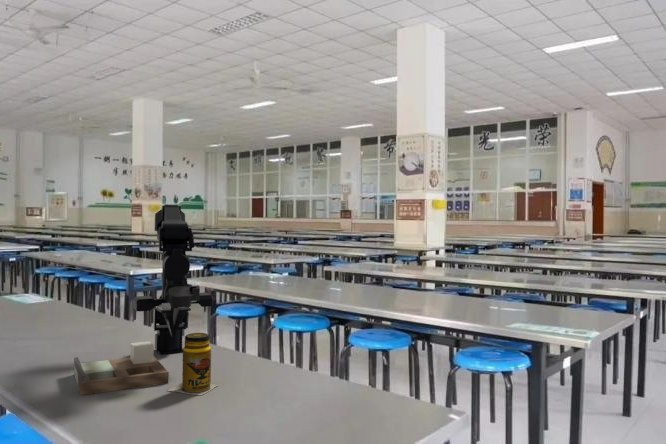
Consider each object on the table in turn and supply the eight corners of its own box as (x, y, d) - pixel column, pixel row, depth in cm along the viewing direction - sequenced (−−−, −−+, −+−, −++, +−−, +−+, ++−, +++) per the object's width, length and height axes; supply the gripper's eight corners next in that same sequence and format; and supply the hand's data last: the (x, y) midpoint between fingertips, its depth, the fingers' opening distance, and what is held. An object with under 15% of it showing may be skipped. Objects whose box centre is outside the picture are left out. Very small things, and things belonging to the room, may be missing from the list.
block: (149, 357, 134) (149, 341, 134) (153, 361, 131) (153, 345, 130) (130, 359, 132) (130, 343, 132) (133, 364, 128) (134, 347, 128)
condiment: (201, 396, 115) (202, 339, 115) (167, 391, 117) (167, 336, 117) (218, 385, 122) (219, 332, 122) (185, 381, 124) (186, 329, 124)
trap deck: (152, 365, 137) (153, 349, 137) (168, 383, 123) (168, 365, 123) (74, 374, 128) (74, 357, 127) (81, 395, 114) (81, 376, 114)
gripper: (141, 279, 123) (140, 347, 124) (221, 275, 133) (220, 339, 133) (132, 273, 133) (131, 337, 133) (207, 270, 142) (206, 330, 143)
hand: (173, 335), depth 135 cm, fingers closed
